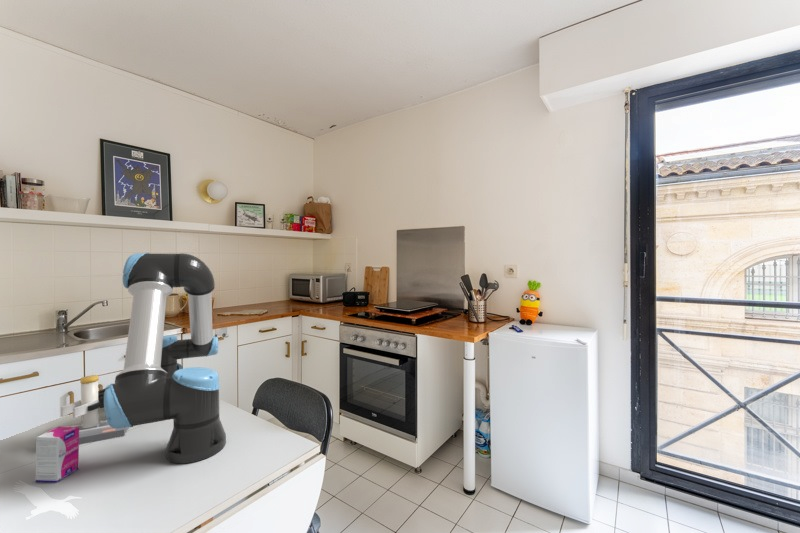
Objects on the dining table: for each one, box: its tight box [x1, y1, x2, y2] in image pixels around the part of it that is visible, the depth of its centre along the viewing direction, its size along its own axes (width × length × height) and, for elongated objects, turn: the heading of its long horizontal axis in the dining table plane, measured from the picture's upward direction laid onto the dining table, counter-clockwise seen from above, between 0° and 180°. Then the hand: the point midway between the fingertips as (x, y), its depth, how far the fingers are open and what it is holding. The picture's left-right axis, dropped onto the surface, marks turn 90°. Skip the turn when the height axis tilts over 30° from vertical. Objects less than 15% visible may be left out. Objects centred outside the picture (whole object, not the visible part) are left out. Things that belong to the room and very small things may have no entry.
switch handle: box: [80, 374, 100, 430], centre depth 107 cm, size 4×4×16 cm
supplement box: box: [34, 426, 80, 484], centre depth 87 cm, size 6×6×12 cm
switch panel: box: [45, 419, 130, 445], centre depth 107 cm, size 20×10×3 cm, turn 118°
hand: (68, 412), depth 101 cm, fingers closed on switch handle, 4 cm apart
